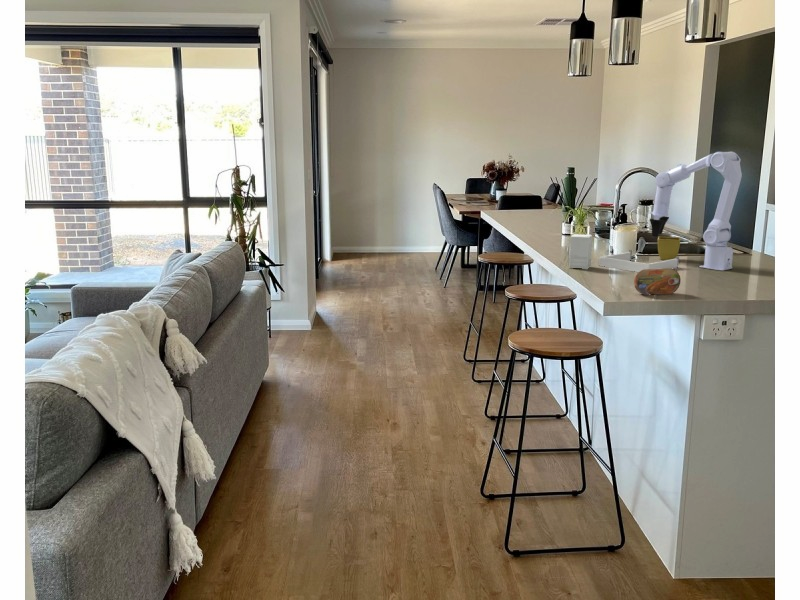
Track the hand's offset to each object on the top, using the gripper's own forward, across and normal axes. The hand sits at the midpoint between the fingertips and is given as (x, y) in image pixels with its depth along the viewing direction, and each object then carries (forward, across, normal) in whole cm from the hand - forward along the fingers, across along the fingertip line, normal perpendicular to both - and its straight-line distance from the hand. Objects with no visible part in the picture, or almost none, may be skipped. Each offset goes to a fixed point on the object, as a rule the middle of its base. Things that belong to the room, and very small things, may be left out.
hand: (656, 235), depth 287 cm
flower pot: (+10, -1, +5) cm, 11 cm away
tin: (+7, +70, +14) cm, 72 cm away
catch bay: (+10, +22, -1) cm, 24 cm away
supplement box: (+11, +36, -20) cm, 43 cm away
